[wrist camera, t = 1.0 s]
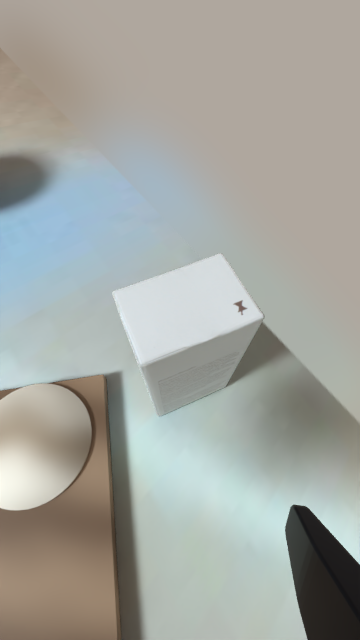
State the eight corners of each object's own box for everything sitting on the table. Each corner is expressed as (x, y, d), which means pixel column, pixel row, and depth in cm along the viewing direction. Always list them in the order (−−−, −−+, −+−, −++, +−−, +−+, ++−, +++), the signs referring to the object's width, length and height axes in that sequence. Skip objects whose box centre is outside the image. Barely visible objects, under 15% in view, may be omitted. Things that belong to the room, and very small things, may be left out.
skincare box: (203, 343, 25) (225, 249, 15) (226, 388, 23) (270, 317, 13) (137, 370, 24) (108, 288, 13) (156, 419, 22) (141, 370, 11)
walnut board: (125, 709, 15) (120, 732, 14) (-101, 771, 14) (-129, 802, 13) (106, 378, 23) (102, 373, 22) (-38, 402, 22) (-51, 397, 21)
